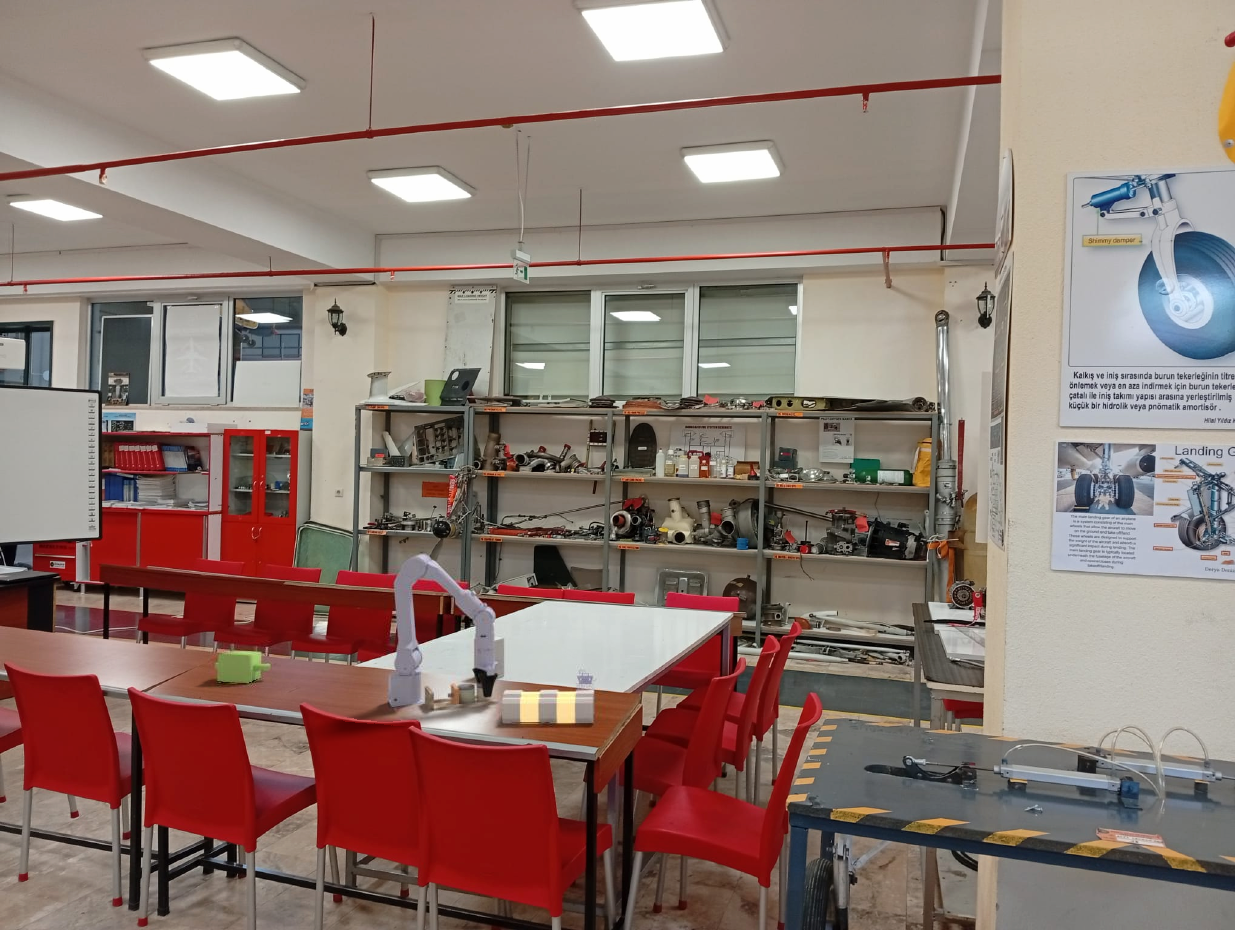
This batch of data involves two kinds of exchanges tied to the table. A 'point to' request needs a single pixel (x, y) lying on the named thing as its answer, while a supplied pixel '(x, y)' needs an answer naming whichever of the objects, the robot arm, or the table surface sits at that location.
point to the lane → (450, 702)
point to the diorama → (550, 705)
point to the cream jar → (481, 697)
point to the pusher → (454, 694)
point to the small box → (497, 656)
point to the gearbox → (240, 666)
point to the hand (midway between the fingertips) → (485, 694)
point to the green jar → (466, 693)
